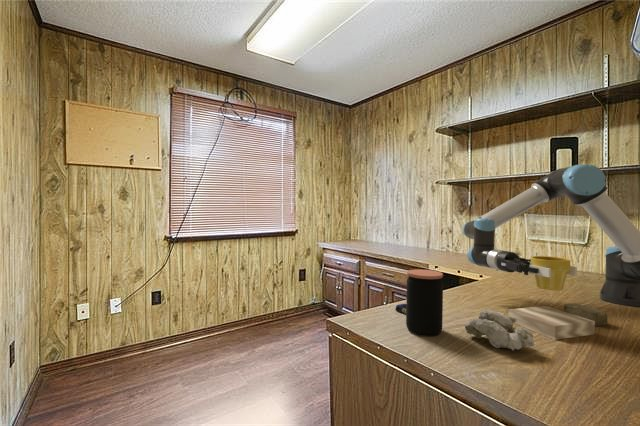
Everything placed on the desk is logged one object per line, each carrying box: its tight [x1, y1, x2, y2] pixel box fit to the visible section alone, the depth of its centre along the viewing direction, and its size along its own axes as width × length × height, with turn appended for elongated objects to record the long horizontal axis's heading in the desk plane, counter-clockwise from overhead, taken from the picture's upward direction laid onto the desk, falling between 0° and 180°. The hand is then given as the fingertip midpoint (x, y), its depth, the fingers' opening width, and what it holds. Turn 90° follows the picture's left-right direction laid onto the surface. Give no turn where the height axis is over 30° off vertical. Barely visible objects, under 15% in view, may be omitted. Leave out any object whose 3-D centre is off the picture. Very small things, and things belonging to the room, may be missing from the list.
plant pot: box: [530, 255, 571, 292], centre depth 103 cm, size 10×10×10 cm
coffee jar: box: [405, 268, 444, 337], centre depth 99 cm, size 11×11×18 cm
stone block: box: [562, 302, 608, 327], centre depth 110 cm, size 6×12×5 cm, turn 17°
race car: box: [394, 303, 406, 315], centre depth 115 cm, size 15×7×4 cm, turn 37°
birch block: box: [508, 305, 596, 341], centre depth 103 cm, size 16×16×4 cm
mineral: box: [464, 309, 535, 351], centre depth 89 cm, size 12×17×10 cm
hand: (563, 272), depth 99 cm, fingers closed on plant pot, 10 cm apart
